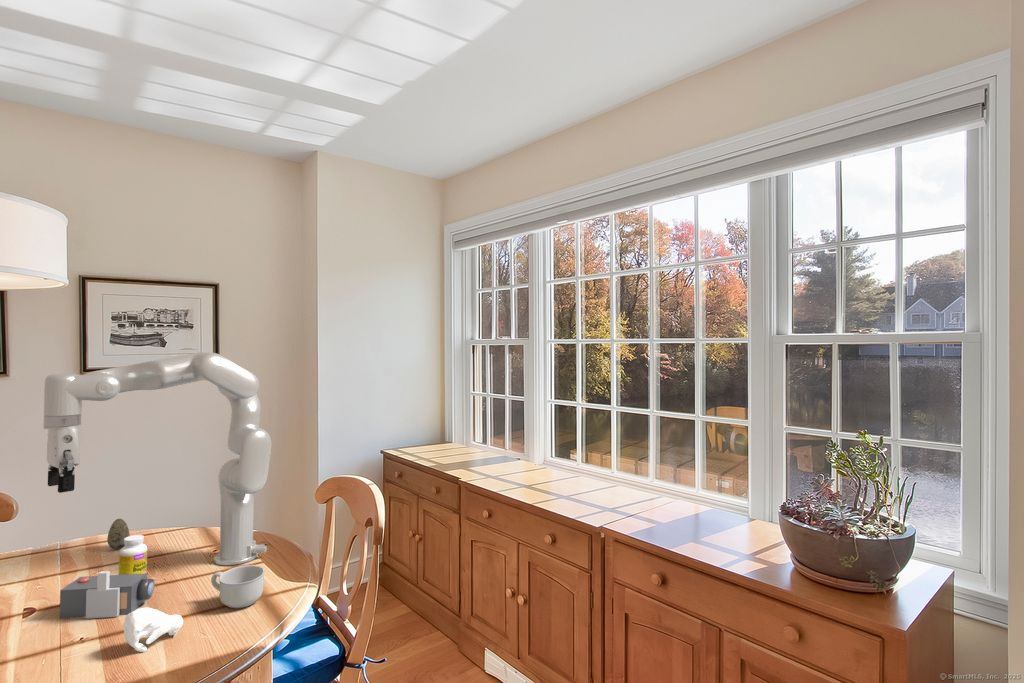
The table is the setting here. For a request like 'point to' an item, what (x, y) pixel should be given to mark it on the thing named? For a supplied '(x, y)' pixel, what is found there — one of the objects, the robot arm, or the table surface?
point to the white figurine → (149, 626)
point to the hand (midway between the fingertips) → (60, 488)
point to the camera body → (131, 587)
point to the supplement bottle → (133, 556)
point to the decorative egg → (118, 534)
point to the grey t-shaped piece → (102, 598)
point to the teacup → (240, 585)
